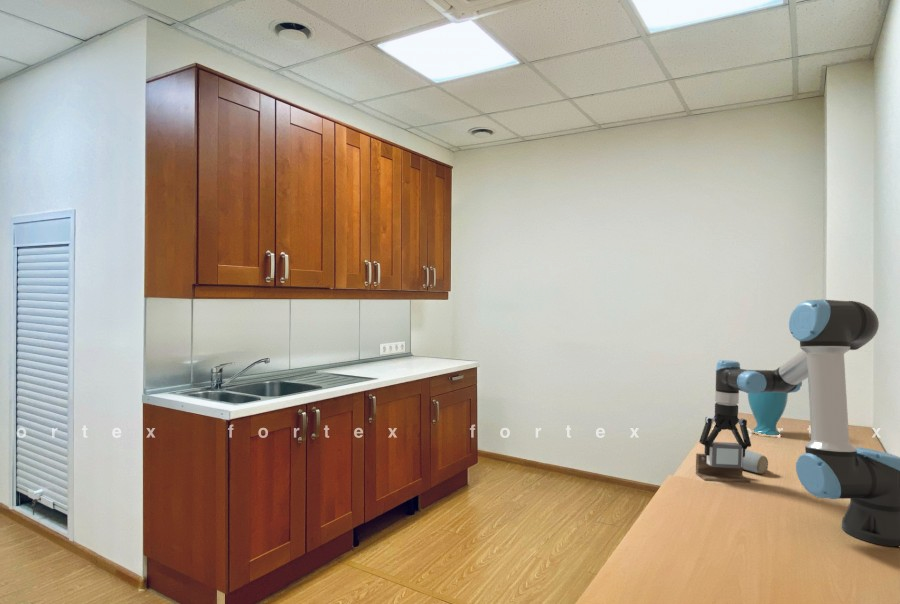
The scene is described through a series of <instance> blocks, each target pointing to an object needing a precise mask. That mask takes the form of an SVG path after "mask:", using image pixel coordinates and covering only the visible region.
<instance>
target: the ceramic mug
mask: <svg viewBox="0 0 900 604" xmlns="http://www.w3.org/2000/svg"><path fill="white" fill-rule="evenodd" d="M768 467H769V460H768V459H767V457H766V456H765V455H764V454H761V453H758V452H755V451H753V450H749V449H748V448H747V449H745V457H743V471H744V470H745V471H748V472H751V473H753V474H758V475H762V474H765V473H766V471H768Z"/></svg>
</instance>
